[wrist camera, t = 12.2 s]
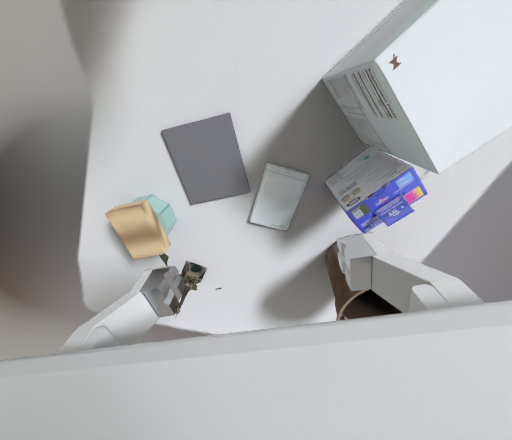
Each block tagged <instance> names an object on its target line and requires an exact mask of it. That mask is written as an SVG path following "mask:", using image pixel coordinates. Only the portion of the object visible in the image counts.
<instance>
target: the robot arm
mask: <svg viewBox="0 0 512 440" xmlns="http://www.w3.org/2000/svg"><path fill="white" fill-rule="evenodd" d="M337 246H338V248H339V250H340V251H339V252H338V260H339V265H340V268H341V270H342V273H344V274H345V275H346V281H347V284H348V286H349V288H350V290H351V291H358V290H367V289H372V291H374V292H375V293H376V294H378V295H379V296H381V297H382V298H383V299H385V300H386V301H388V302H389V303H390V304H392V305H393V306H394V307H396V308H397V309H399V310H400V311H401V312H403V313H399V314H390V315H382V316H373V317H365V318H356V319H348V320H339V321H331V322H322V323H314V324H305V325H296V326H288V327H279V328H270V329H262V330H253V331H245V332H236V333H228V334H219V335H211V336H203V337H194V338H185V339H177V340H168V341H160V342H152V343H142V344H136V343H137V342H138V341H139V340H140V339H141V338H142V336H143V335H144V334H145V333H146V332H147V331H148V330H149V329H150V328H151V326H152V325H153V324H154V323H155V322H156V321H157V320H158V319H159V317H165V316H171V315H175V313H176V311H177V308H178V306H179V304H180V303H179V301H178V300H179V299H180V298H181V297H182V296H183V294H184V289H185V285H184V281H183V279H182V278H181V277H180V276H178V270H177V268H176V267H175V266H168V267H161V268H155V269H148V270H145V271H144V272H143V273H142V275H141V276H140V278H139V279H138V280H137V282H136V283H135V285H134V286H133V288H132V289H131V290H130V292H129V293H128V294H125V295H123V296H122V297H121V298H119V299H118V300H116V301H115V302H114V303H112V304H111V305H110V306H108V307H107V308H105V309H104V310H103V311H101V312H100V313H98V314H97V315H96V316H94V317H93V318H92V319H90V320H89V321H87V322H86V323H85V324H83V325H82V326H80V327H79V328H78V329H76V331H75V332H74V333H73V334H72V335H71V337H70V338H69V339H68V340H67V342H66V343H65V344H64V345H63V346H62V348H61V349H60V350H59V351H58V353H56V354H48V355H39V356H31V357H22V358H14V359H6V360H0V440H512V300H510V301H501V302H493V303H484V302H483V301H482V300H481V299H480V298H479V297H478V296H477V295H475V293H473V292H472V290H470V289H469V288H468V287H467V286H466V285H465V284H464V283H463V282H462V281H461V280H459V279H458V278H455V277H453V276H450V275H448V274H445V273H443V272H440V271H438V270H435V269H433V268H430V267H428V266H425V265H423V264H420V263H418V262H415V261H413V260H410V259H408V258H406V257H403V256H401V255H398V254H396V253H390V252H389V251H388V250H387V249H386V248H385V246H384V245H383V244H382V243H381V242H380V240H379V239H378V238H377V237H376V236H375V234H374V233H373V232H368V233H363V234H360V235H354V236H348V237H342V238H337Z"/></svg>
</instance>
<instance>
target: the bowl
mask: <svg viewBox="0 0 512 440" xmlns="http://www.w3.org/2000/svg"><path fill="white" fill-rule="evenodd" d="M147 199H148V201H149V203H150V205H151V207H152V209H153V211H154V213H155V215H156V216H157V218H158V220H159V222H160V224H161V226H162V228H163V230H164V232H165V234H166V236H168V234H169V233H170V231H171V230H172V228H173V226H174V224H175V222H176V216H175V214H174V212H173V210H172V208H171V205H168V204H169V203H167V202H165V201H163V200H162V199H160V198H158V197H156V196H154V195H153V196H152V195H149V196H144V197H140V198H136V199H135V200H134V201H132V202H131V203H133V202H138V201H142V200H147Z"/></svg>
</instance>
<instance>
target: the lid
mask: <svg viewBox="0 0 512 440" xmlns="http://www.w3.org/2000/svg"><path fill="white" fill-rule="evenodd" d="M105 215H106V216H107V218H108V220H109V221H110V223H111V224H112V226H113V227H114V229H115V230H116V232H117V234H118V235H119V237H120V238H121V240H122V241H123V243H124V245H125V246H126V248H127V249H128V251H129V252H130V254H131V255H132V257H133V259H137V258H143V257H149V256H154V255H160V254H165V253H166V251H167V249H168V248H169V246H170V245H171V244H170V242H169V240H168V238H167V236H166V234H165V232H164V230H163V228H162V226H161V224H160V222H159V220H158V218H157V216H156V215H155V213H154V211H153V209H152V207H151V205H150V203H149V201H148V199H147V200H142V201H138V202H133V203H129V204H124V205H119V206H115V207H114V208H113V209H111V210H110V211H108V212H107V213H106V214H105Z"/></svg>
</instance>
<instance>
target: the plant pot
mask: <svg viewBox="0 0 512 440" xmlns="http://www.w3.org/2000/svg"><path fill="white" fill-rule="evenodd" d="M357 235H360V234H357ZM347 237H348V236H347ZM339 251H340V250H339V248H338V246H337V242H336V243H335V244H334V245H332V247H331V248H330V249H329V251H328V253H327V256H326V265H327V268H328V272H329V276H330V280H331V284H332V288H333V292H334V296H335V307H336V312H337V321H339V320H348V319H356V318H365V317H373V316H382V315H390V314H399V313H403V312H401V311H400V310H399V309H397V308H396V307H394V306H393V305H392V304H390V303H389V302H388V301H386V300H385V299H383V298H382V297H381V296H379V295H378V294H376V293H375V292H374V291H372V289H367V290H358V291H351V290H350V288H349V286H348V284H347V281H346V275H345V274H344V273H342V270H341V268H340V265H339V260H338V252H339Z"/></svg>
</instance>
